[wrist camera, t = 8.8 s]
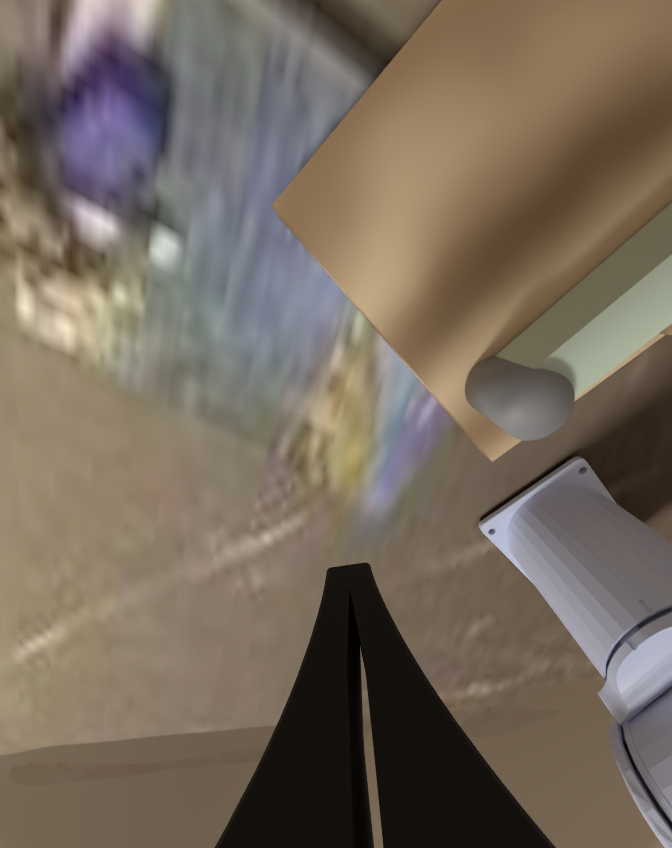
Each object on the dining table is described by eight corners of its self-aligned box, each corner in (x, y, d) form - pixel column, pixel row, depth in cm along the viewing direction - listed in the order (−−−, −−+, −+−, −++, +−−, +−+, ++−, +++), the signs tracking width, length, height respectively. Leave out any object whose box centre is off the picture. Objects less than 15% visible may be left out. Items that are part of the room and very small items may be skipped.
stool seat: (754, 235, 16) (989, 201, 10) (476, 446, 20) (536, 504, 14) (615, -182, 11) (935, -707, 5) (278, 216, 15) (251, 166, 9)
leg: (486, 423, 17) (525, 453, 13) (453, 385, 16) (486, 408, 13) (766, 195, 13) (910, 162, 10) (743, 131, 12) (894, 71, 9)
